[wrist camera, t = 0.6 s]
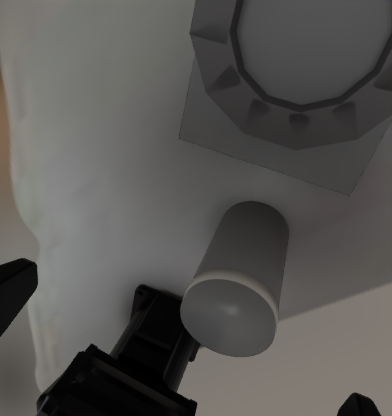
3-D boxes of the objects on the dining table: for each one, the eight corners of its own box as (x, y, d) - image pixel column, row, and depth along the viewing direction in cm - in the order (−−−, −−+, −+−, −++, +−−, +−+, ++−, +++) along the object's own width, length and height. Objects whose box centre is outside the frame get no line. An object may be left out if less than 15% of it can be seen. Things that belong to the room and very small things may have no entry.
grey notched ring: (349, 188, 19) (352, 209, 17) (183, 133, 20) (168, 146, 18) (542, -165, 11) (592, -207, 9) (254, -213, 13) (241, -257, 11)
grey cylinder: (275, 269, 23) (257, 370, 17) (213, 245, 24) (171, 333, 17) (300, 215, 21) (291, 310, 14) (230, 190, 21) (189, 270, 15)
